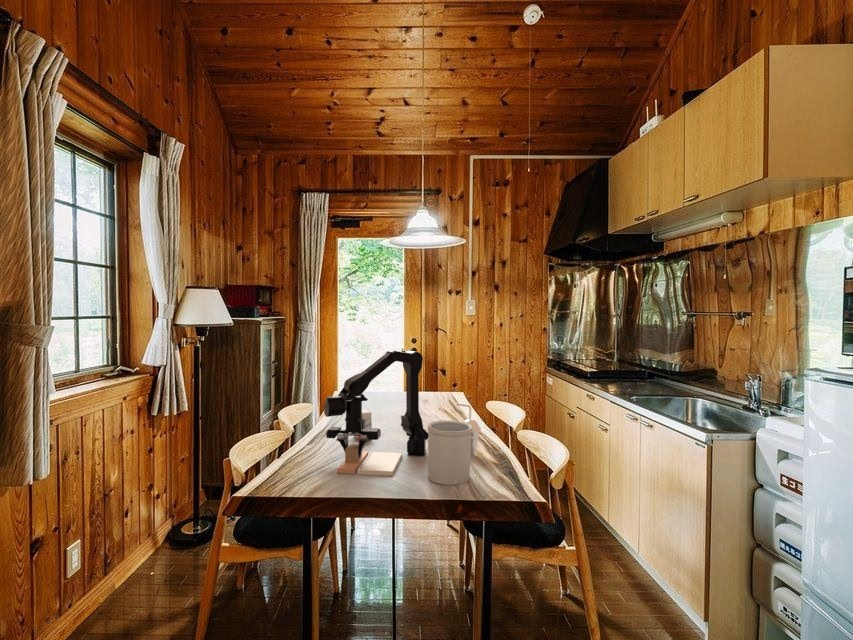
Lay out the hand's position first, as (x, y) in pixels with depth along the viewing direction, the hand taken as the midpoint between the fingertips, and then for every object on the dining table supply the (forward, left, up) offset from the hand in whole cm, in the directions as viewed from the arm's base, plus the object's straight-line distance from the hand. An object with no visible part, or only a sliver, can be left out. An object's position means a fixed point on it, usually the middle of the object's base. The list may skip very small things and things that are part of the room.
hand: (353, 456), depth 168 cm
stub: (0, 0, -2) cm, 2 cm away
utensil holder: (-35, +9, -3) cm, 36 cm away
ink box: (+5, -33, -3) cm, 33 cm away
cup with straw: (-41, -16, -3) cm, 44 cm away
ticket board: (-10, 0, -3) cm, 10 cm away
